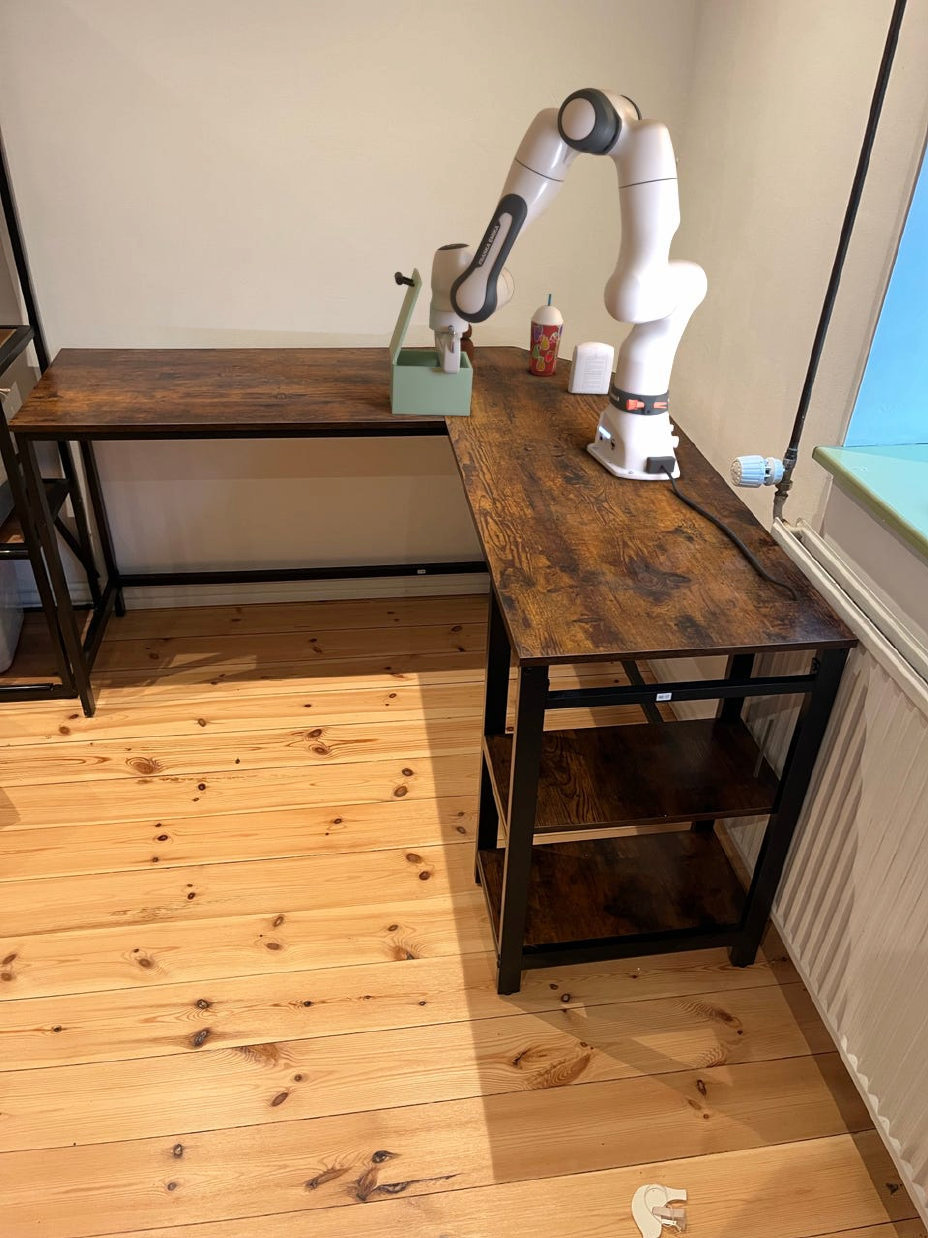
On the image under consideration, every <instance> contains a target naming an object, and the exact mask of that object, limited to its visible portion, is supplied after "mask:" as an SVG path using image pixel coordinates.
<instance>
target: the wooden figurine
mask: <svg viewBox="0 0 928 1238" xmlns="http://www.w3.org/2000/svg"><path fill="white" fill-rule="evenodd" d="M472 335H473V326H472V325H471V323H469V327H468V330H467V331H466V332H463V333H462V337H461V338H460V352H466V353H467V356H468V358H469V361H470V363H471V364H472V363H473V361H474V357H475V345H474V342H473V341H472V339H471V337H472Z"/></svg>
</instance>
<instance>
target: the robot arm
mask: <svg viewBox="0 0 928 1238" xmlns="http://www.w3.org/2000/svg"><path fill="white" fill-rule="evenodd" d="M583 153H584V154H589V155H593V156H597V157H598V156H599V157H602V156H603V157H604V156H605V157H606V156H609V157H610V158H611V159H612V161H613V162H614V165H615V169H616V177H617V189H618V197H619V198H618V200H619V213H620V244H619V250H618V255H617V259H616V263H615V267H614V269H613V271H612V274H611V275H610V276H609V278H608V280H607V281H606V283H605V286H604V289H603V303H604V306H605V309H606V311H607V313H608V315H610V317H611V318H612V319H614V320H615V321H616V322H617V321H618V322H620V323H627V324H633V326H632V328H631V330H630V332H629V333H628V335H627V336H626V337H625V339H623V341H622V343H620V346H619V349H618V354H617V361H616V368H615V375H614V381H613V382H612V384H611V387H610V388H609V398H608V400H609V403H608V405H607V406H606V407H605V409H603V410H602V411H601V412H600V413H599V418H598V423H597V428H596V434H595V439H594V442H593V443H589V444H588V445H587V447H586V451H587V452H588V453H589V454H590V455H591V456H592V457H593V458H594V459H595V460H597V461H598V463H600V464H601V465H602V466H603V467H604V468H605V469H606V470H608V471H609V472H610V473H611V474H612V475H613V476H615V477H618V478H624V479H631V480H640V481H665V480H666V481H667V480H669V481H670V483H671V486H672V489H673V491H674V492H675V494H676V495H677V496H678V497H679V498H680V499H681V500H682V501H684V502H686V503H687V504H689V505H691V506H693V507H694V508H695V509H696V510H698V511H699V512H701V513H702V514H703V515H705V516H706V517H708V518H709V519H711V521H713V522H714V523H715V524H717V525H718V526H719V527H720V528H721V529H723V531H725V532H726V533H727V534H728V535H729V536H730V538H732V539H733V540H734V541H735V542H736V543H737V545H738V546H739V547H740V548H741V550H742V551H743V552H744V553H745V555H746V556H747V557H748V558H749V560H750V561H751V562H752V564H753V565H754V566H755V567H756V569H757V570H758V571H759V572H760V574H761V575H762V576H763V577H764V578H765V579H766V580H767V581H769V582H770V583H771V584H773V585H775V586H778V587H781V588H783V589H786V590H787V591H788V592H789V593H790V594H791V596H792V599H793V600H794V601H795V602H799V601H800V599H799V596H798V593H797V591H796V590H795V588H793V586H791V585H790V584H788V583H786V582H782V581H781V580H780V581H779V580H778V579H775V578H774V577H772V576H771V575H770V574H768V572H767V571H766V570H765V569H764V568H763V566H762V565H761V563H760V562H759V561H758V560H757V559H756V557H755V556H754V555H753V554H752V553H751V551H750V550H749V549H748V547H747V546H746V545H745V544H744V542H743V541H742V540H740V538H739V537H738V536H737V535H736V533H734V532H733V530H731V529H730V528H729V527H728V526H727V525H726V524H725V523H724V522H722V521H721V520H720V519H719V518H718V517H716V516H715V515H713V514H712V513H710V512H709V511H707V510H706V509H705V508H703V507H702V506H700V505H699V504H697V503H696V502H695V501H693V500H691V499H690V498H688V497H686V496H685V495H684V494H683V493H682V492H681V491H680V490H679V489H678V487H677V484H676V481H675V479H677V478H680V475H681V472H680V471H681V470H680V468H679V464H678V461H677V457H676V454H675V451H674V448H675V449H676V448H678V445H679V436H676V435H672V432H673V431H674V425H673V424H670V423H671V422H670V414H669V412H668V410H669V403H670V390H669V383H670V379H671V373H672V368H673V365H674V359H675V356H676V351H677V349H678V346H679V343H680V340H681V338H682V336H683V334H684V332H685V330H686V327H687V325H688V323H689V320H690V318H691V316H693V313H694V312H695V310H696V309H697V308H698V307H699V305H700V304H701V303H702V302H703V300H704V298H705V297H706V293H707V290H708V279H707V275H706V273H705V271H704V269H703V268H702V267H701V265H699V264H698V263H696V262H694V261H692V260H689V259H684V258H669V253H670V248H671V242H672V240H673V237H674V234H675V233H676V231H677V230H678V229H679V226H680V223H681V212H680V197H679V183H678V171H677V165H676V156H675V152H674V147H673V143H672V138H671V135H670V132H669V128H668V127H667V126H666V124H665V123H664V122H662V121H659V120H657V119H654V118H643V116H642V113H641V110H640V108H639V107H638V105H637V104H636V103H635V102H634V101H633V100H632V99H631V98H629V97H628V96H625V95H624V94H619V93H617V92H615V91H613V90H609V89H604V88H594V87H585V88H581V89H578V90H576V91H574V92H572V93H571V94H569V95H568V96H567V97H566V98H565V99H564V101H562V104H561V105H560V108H559V107H545V108H543V109H540V111H538V112H537V113H536V115H535V116H534V118H533V120H532V121H531V123H530V125H529V126H528V128H527V130H526V131H525V134H524V135H523V137H522V139H521V141H520V143H519V145H518V148H517V150H516V152H515V155H514V157H513V159H512V162H511V165H510V166H509V170H508V172H507V176H506V178H505V181H504V184H503V187H502V190H501V193H500V196H499V198H498V201H497V204H496V206H495V209H494V212H493V215H492V217H491V219H490V220H489V221H490V222H489V224H488V225H487V228H486V230H485V232H484V234H483V236H482V238H481V241H480V243H479V245H478V248H477V249H476V251H475V250H474V249H473V248H472V246H471V245H469V244H467V243H460V242H459V243H450V244H446V245H443V246H441V247H439V248H438V249H436V251H435V253H434V254H433V260H432V264H431V265H432V266H431V275H430V276H431V277H430V288H431V299H430V302H429V317H428V318H429V320H428V328H429V330H431V331H433V333H434V334H433V335H434V336H433V337H434V346H435V351H437V354H438V357H439V361H440V367H442V370H443V373H445V374H458V373H459V369H460V338H461V337H462V333H463V332H466V331H467V330H468V327H469V324H479V323H483V322H485V321H487V320H488V319H489V318H490V317H491V316H492V315H493V314H494V313H496V312H497V311H499V310H501V308H503V307H504V306H506V305H507V304H508V303H509V302H510V301H511V299H512V298H513V296H514V294H515V281H514V278H513V275H512V273H511V272H510V271H509V270H508V268H506V267H505V266H506V264H507V262H508V260H509V257H510V256H511V253H512V251H513V248H514V247H515V244H516V243H517V241H518V240H519V238H520V237H521V235H522V234H523V233H524V232H525V231H526V230H527V229H528V228H529V227H530V226H532V224H533V223H535V222H536V221H537V220H538V219H540V218H541V217H542V216H543V215H544V214H546V212H547V211H549V209H550V208H551V206H552V205H553V203H554V201H555V200H556V198H557V196H558V195H559V193H560V191H561V189H562V187H563V185H564V183H565V180H566V178H567V176H568V173H569V170H570V168H571V167H572V165H573V163H574V161H575V159H576V158H577V157H578V156H580V155H581V154H583ZM451 352H452V353H451ZM774 722H775V718H769V720H768V724H767V727H766V730H765V734H764V736H763V740H762V743H761V746H760V750H759V753H758V757H757V760H756V764H755V767H754V772H753V774H752V775H753V778H758V775H759V773H760V768H761V764H762V760H763V757H764V754H765V751H766V747H767V745H768V741H769V737H770V735H771V731H772V728H773V726H774Z"/></svg>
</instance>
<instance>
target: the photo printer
mask: <svg viewBox="0 0 928 1238" xmlns="http://www.w3.org/2000/svg"><path fill="white" fill-rule="evenodd" d="M614 354H615V348H614V347H613V346H612V345H610V344H607V343H603V342H599V341H588V342H582V343H578V344H575V346H574V348H573V352H572V357H571V365H570V370H569V371H570V372H569V379H568V386H567V391H568V392H569V393H571V394H588V395H591V394H593V395H608V393H609V390H610V382H611V376H612V369H613V364H614V357H615V355H614Z"/></svg>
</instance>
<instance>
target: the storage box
mask: <svg viewBox="0 0 928 1238" xmlns="http://www.w3.org/2000/svg"><path fill="white" fill-rule="evenodd" d="M451 353H452V352H451ZM389 356H390V357H389V392H388V395H389V401H390V407H391V414H392V415H421V416H423V415H425V416H457V417H459V416H461V417H470V415H471V402H472V389H473V374H474V369H473V365H472V363H470V361H469V358H468V356H467V353H466V352H460V369H459V373H458V374H445V373H443V370H442V367H440V361H439V357H438V354H437V351H436V350H431V349H430V350H427V349H403V348H401V349H400V352H399V356H398V359H397V362H396V365H394V364H392V360H391V355H389Z"/></svg>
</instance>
